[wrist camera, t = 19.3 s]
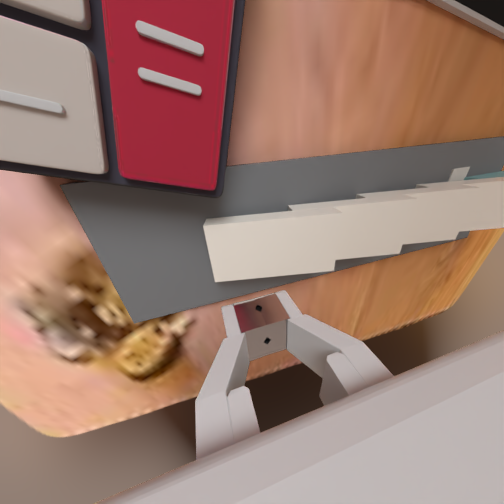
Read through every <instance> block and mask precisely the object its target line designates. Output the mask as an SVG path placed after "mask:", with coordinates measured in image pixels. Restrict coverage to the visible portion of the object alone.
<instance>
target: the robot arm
mask: <svg viewBox="0 0 504 504" xmlns="http://www.w3.org/2000/svg"><path fill="white" fill-rule="evenodd" d="M221 310H222V315H223V320H224V325H225V329H226V334H227V338H225V339H223V341H222V344H221V346H220V348H219V350H218V352H217V355H216V357H215V359H214V361H213V364H212V366H211V368H210V370H209V372H208V375H207V377H206V379H205V381H204V384H203V386H202V388H201V390H200V392H199V395H198V397H197V399H196V401H195V405H196V407H195V409H196V460H195V461H193V462H191V463H188V464H186V465H184V466H182V467H179V468H177V469H174V470H172V471H169V472H167V473H165V474H162V475H160V476H158V477H156V478H153V479H151V480H148V481H146V482H144V483H141V484H139V485H136V486H134V487H132V488H129V489H127V490H125V491H122V492H120V493H118V494H115V495H113V496H110V497H108V498H106V499H103V500H101V501H99V502H96V503H94V504H504V330H503V331H501V332H499V333H496V334H493V335H491V336H489V337H486V338H484V339H482V340H479V341H477V342H475V343H472V344H470V345H467V346H465V347H463V348H460V349H458V350H456V351H453V352H451V353H449V354H446V355H444V356H441V357H439V358H437V359H434V360H432V361H430V362H427V363H425V364H422V365H420V366H418V367H416V368H413V369H411V370H408V371H406V372H404V373H402V374H399V375H396V376H393V375H392V374H391V372H389V370H388V369H387V368H386V367H385V366H384V365H383V364H382V362H381V361H380V360H379V359H378V358H377V357H376V356H375V355H374V354H373V353H372V351H371V350H370V349H369V348H368V347H367V346H366V345H365V344H364V343H363V342H362V341H360V340H358V339H356V338H354V337H352V336H350V335H348V334H346V333H344V332H341V331H339V330H337V329H335V328H333V327H331V326H329V325H327V324H325V323H323V322H321V321H319V320H317V319H315V318H313V317H311V316H309V315H307V314H304V315H302V313H301V312H300V310H299V309H298V307H297V306H296V305H295V303H294V302H293V300H292V299H291V297H290V296H289V295H288V293H287V292H286V291H285V290H282V291H279V292H275V293H272V294H268V295H265V296H261V297H257V298H254V299H250V300H246V301H242V302H238V303H233V304H230V305H226V306H222V307H221ZM285 349H287V350H288V351H289V352H290V353H291V354H293V355H294V356H295V357H296V358H298V359H299V360H300V361H301V362H303V363H304V364H305V365H306V366H308V367H309V368H310V369H312V370H313V371H314V372H315V373H317V374H318V375H319V376H320V377H322V378H323V381H322V386H321V391H320V398H321V400H322V402H323V404H324V406H323V407H321V408H318V409H316V410H314V411H311V412H309V413H307V414H305V415H302V416H299V417H297V418H295V419H293V420H290V421H288V422H285V423H283V424H281V425H278V426H276V427H273V428H271V429H269V430H266V431H264V432H262V433H260V430H259V426H258V422H257V418H256V415H255V411H254V407H253V403H252V399H251V395H250V391H249V388H247V387H245V386H244V385H245V381H246V376H247V372H248V368H249V364H250V362H249V361H252V360H255V359H258V358H260V357H263V356H266V355H269V354H272V353H275V352H278V351H282V350H285Z"/></svg>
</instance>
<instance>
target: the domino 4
mask: <svg viewBox="0 0 504 504" xmlns="http://www.w3.org/2000/svg"><path fill="white" fill-rule="evenodd" d="M460 184H462V185H469V186H475V187H480V189H479V191H478V193H477V195H476V197H475V199H474V201H473V203H472V206H471V208H470V210H469V212H468V214H467V216H466V218H465V220H464V222H463V224H462V226H461V228H460V231H459V232H461V231H472V230H484V229H495V228H504V177H495V178H484V179H472V180H461V181H450V182H438V183H427V184H416V187H415V189H417V188H427V187H438V186H449V185H460Z"/></svg>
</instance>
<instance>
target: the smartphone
mask: <svg viewBox="0 0 504 504" xmlns="http://www.w3.org/2000/svg"><path fill="white" fill-rule="evenodd" d="M427 1H429V2H430V3H432V4H434V5H436V6H438V7H440V8H442V9H444V10H446V11H448V12H450V13H452V14H454V15H456V16H458V17H460V18H462V19H464V20H466V21H468V22H470V23H472V24H474V25H476V26H478V27H480V28H482V29H484V30H486V31H488V32H490V33H491V34H493V35H495V36H497V37H499V38H501V39H503V40H504V0H427Z"/></svg>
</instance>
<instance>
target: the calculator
mask: <svg viewBox="0 0 504 504" xmlns="http://www.w3.org/2000/svg"><path fill="white" fill-rule="evenodd" d="M244 6H245V0H0V170H7V171H14V172H22V173H29V174H37V175H44V176H52V177H59V178H67V179H74V180H82V181H89V182H97V183H104V184H111V185H119V186H126V187H134V188H141V189H149V190H156V191H164V192H171V193H179V194H186V195H194V196H201V197H209V198H219V197H220V196H221V195H222V194H223V189H224V180H225V172H226V163H227V154H228V145H229V137H230V128H231V119H232V111H233V102H234V93H235V85H236V76H237V67H238V58H239V50H240V41H241V32H242V24H243V15H244Z"/></svg>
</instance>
